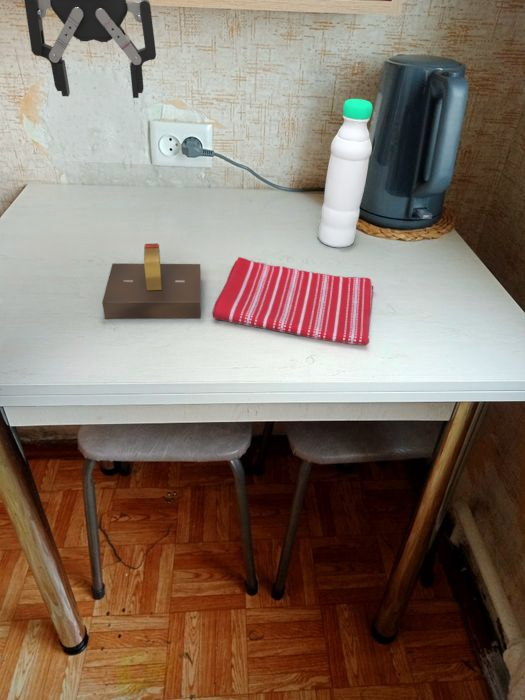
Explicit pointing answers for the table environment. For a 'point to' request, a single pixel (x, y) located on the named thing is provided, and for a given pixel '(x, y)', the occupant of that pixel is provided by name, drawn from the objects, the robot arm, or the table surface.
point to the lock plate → (153, 293)
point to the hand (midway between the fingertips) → (101, 95)
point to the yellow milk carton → (152, 266)
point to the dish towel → (297, 302)
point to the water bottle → (346, 175)
